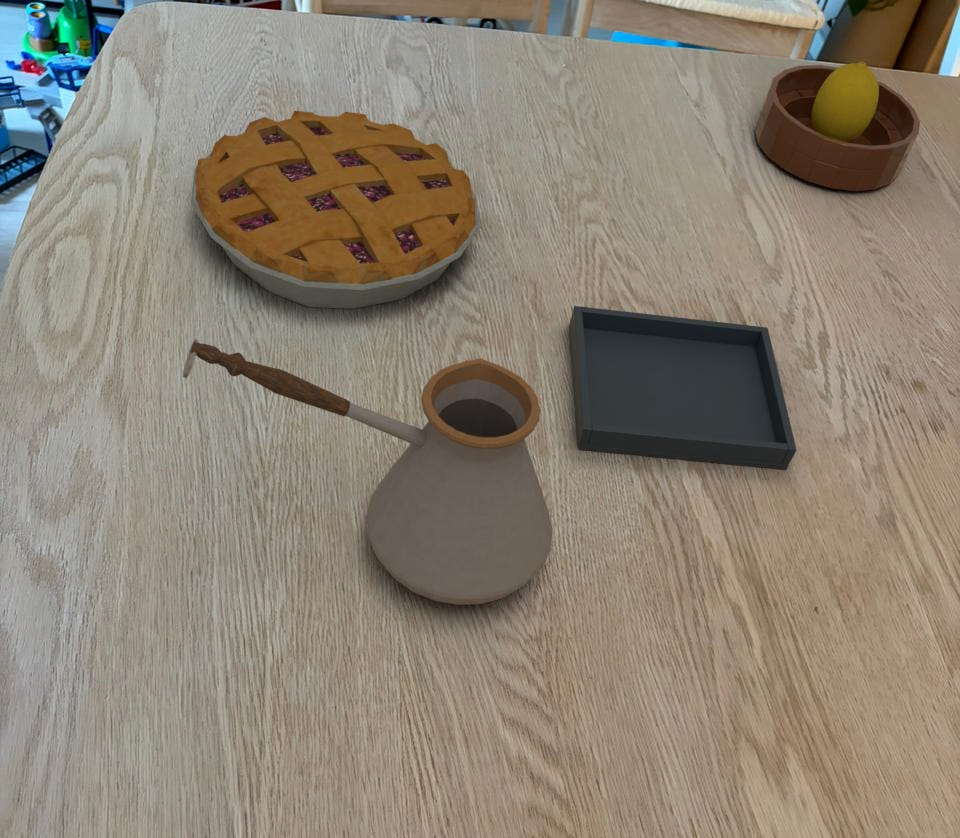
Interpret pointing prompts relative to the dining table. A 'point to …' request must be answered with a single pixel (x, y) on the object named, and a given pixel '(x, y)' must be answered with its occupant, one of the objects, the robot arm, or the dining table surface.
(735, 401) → the tray
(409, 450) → the coffee pot
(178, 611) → the dining table surface
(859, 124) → the lemon
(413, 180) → the pie
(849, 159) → the bowl
